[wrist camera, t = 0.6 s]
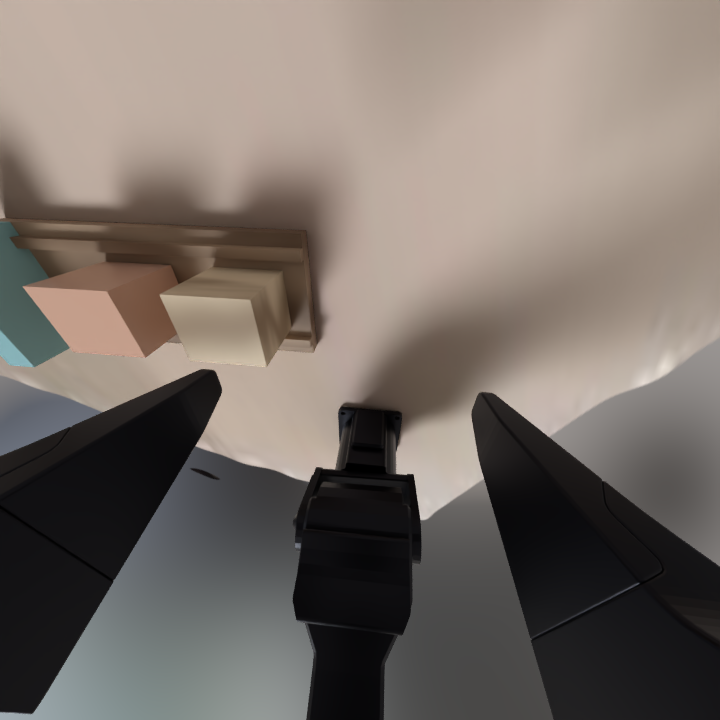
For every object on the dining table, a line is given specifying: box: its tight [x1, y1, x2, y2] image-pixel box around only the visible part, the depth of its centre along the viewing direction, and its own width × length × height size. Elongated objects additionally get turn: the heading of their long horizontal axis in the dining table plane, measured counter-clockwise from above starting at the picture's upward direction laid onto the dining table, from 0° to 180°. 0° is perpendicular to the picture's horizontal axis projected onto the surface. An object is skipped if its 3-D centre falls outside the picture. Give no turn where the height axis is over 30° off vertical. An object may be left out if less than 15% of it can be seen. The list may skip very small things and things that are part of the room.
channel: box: [0, 218, 317, 353], centre depth 19 cm, size 9×22×2 cm, turn 89°
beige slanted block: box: [159, 267, 292, 367], centre depth 17 cm, size 4×5×5 cm
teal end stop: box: [0, 221, 70, 367], centre depth 18 cm, size 9×2×4 cm, turn 179°
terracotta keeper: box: [22, 261, 178, 358], centre depth 17 cm, size 4×5×5 cm
